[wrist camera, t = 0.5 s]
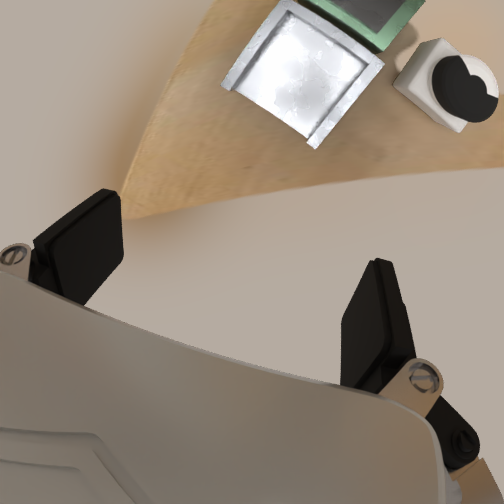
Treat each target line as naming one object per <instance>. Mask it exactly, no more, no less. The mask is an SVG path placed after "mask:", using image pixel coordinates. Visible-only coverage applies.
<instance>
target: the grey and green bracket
mask: <svg viewBox="0 0 504 504" xmlns="http://www.w3.org/2000/svg"><path fill="white" fill-rule="evenodd" d="M297 1H298V3H296V2H294V1H292V0H280V1H279V3H278V4H277V5H276V7H275V8H274V9H273V10H272V12H271V13H270V14H269V16H268V17H267V18H266V20H265V21H264V22H263V24H262V25H261V26H260V28H259V29H258V30H257V32H256V33H255V35H254V36H253V37H252V39H251V40H250V42H249V43H248V44H247V46H246V47H245V49H244V50H243V52H242V53H241V55H240V56H239V57H238V59H237V60H236V62H235V63H234V65H233V66H232V68H231V69H230V71H229V72H228V74H227V76H226V77H225V79H224V80H223V82H222V83H221V85H220V86H222V87H223V88H225V89H227V90H228V91H232V90H236V91H238V92H240V93H241V94H243V95H244V96H246V97H247V98H249V99H251V100H252V101H254V102H255V103H257V104H258V105H260V106H261V107H263V108H265V109H266V110H268V111H269V112H271V113H272V114H274V115H275V116H276V117H278V118H279V119H281V120H282V121H284V122H285V123H287V124H288V125H290V126H291V127H292V128H294V129H295V130H297V131H298V132H299V133H301V134H302V135H304V136H305V137H306V138H307V143H308V144H309V145H310V146H312V147H313V148H314V149H316V148H317V147H318V146H319V145H320V143H321V142H322V141H323V140H324V138H325V137H326V136H327V135H328V133H329V132H330V131H331V130H332V128H333V127H334V126H335V125H336V123H337V122H338V121H339V120H340V119H341V117H342V116H343V115H344V114H345V112H346V111H347V110H348V109H349V107H350V106H351V105H352V104H353V102H354V101H355V100H356V99H357V98H358V96H359V95H360V94H361V93H362V91H363V90H364V89H365V88H366V87H367V85H368V84H369V83H370V82H371V80H372V79H373V78H374V77H375V76H376V74H377V73H378V72H379V71H380V69H381V68H382V67H383V66H384V65H385V63H384V62H382V61H381V60H380V59H379V58H377V57H376V56H375V54H377V53H380V52H383V51H384V50H385V49H386V48H387V46H388V45H389V44H390V43H391V41H392V40H393V39H394V38H395V37H396V35H397V34H398V33H399V32H400V31H401V30H402V28H403V27H404V26H405V25H406V24H407V22H408V21H409V20H410V19H411V18H412V16H413V15H414V14H415V13H416V12H417V11H418V9H419V8H420V7H421V6H422V5H423V4H424V2H425V0H297Z"/></svg>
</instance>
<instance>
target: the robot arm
mask: <svg viewBox="0 0 504 504" xmlns="http://www.w3.org/2000/svg"><path fill="white" fill-rule="evenodd" d="M121 221H122V220H121V200H120V197H119V196H118V194H117V192H116V191H112V190H108V189H101V190H99V191H98V192H96V193H95V194H93V195H92V196H90V197H89V198H88V199H86V200H85V201H84V202H82V203H81V204H79V205H78V206H77V207H75V208H74V209H72V210H71V211H70V212H68V213H67V214H66V215H64V216H63V217H62V218H60V219H59V220H58V221H56V222H55V223H54V224H53V225H51V226H50V227H49V228H47V229H46V230H45V231H44V232H43V233H41V234H40V235H39V236H37V237H36V238H35V239H34V240H33V243H34V247H35V248H34V249H33V250H32V251H31V248H30V247H29V245H27V244H23V243H16V244H13V245H10V246H8V247H6V248H4V249H3V250H2V251H1V252H0V504H504V500H503V497H502V494H501V492H500V490H499V488H498V486H497V484H496V482H495V480H494V478H493V476H492V474H491V472H490V470H489V468H488V466H487V464H486V462H485V461H484V459H483V458H481V459H480V460H479V458H478V453H479V450H480V442H479V438H478V435H477V433H476V432H475V430H474V429H473V428H472V427H471V426H470V425H469V424H468V423H467V422H466V421H465V420H464V419H463V418H462V417H461V415H460V414H459V413H458V412H457V411H456V410H455V409H454V408H453V407H451V405H450V404H449V403H448V402H447V401H446V400H445V399H444V398H443V397H442V396H441V395H440V394H441V392H442V390H443V378H442V375H441V373H440V372H439V370H438V369H437V368H436V367H435V366H434V365H433V364H432V363H430V362H429V361H427V360H424V359H420V358H416V352H415V347H414V342H413V337H412V333H411V328H410V324H409V319H408V315H407V310H406V306H405V304H404V303H403V301H402V297H401V293H400V289H399V285H398V281H397V278H396V274H395V270H394V267H393V263H392V262H391V261H387V260H384V259H380V258H376V259H375V260H374V261H371V260H370V261H369V263H368V265H367V267H366V269H365V271H364V274H363V276H362V278H361V280H360V282H359V284H358V286H357V288H356V290H355V292H354V295H353V296H352V299H351V301H350V303H349V305H348V307H347V309H346V311H345V313H344V315H343V317H342V321H341V378H340V385H337V384H332V383H327V382H323V381H318V380H313V379H310V378H306V377H301V376H297V375H293V374H289V373H285V372H280V371H277V370H273V369H268V368H265V367H261V366H257V365H253V364H250V363H246V362H243V361H239V360H236V359H232V358H229V357H225V356H222V355H219V354H215V353H212V352H209V351H206V350H202V349H199V348H196V347H193V346H189V345H186V344H184V343H181V342H178V341H174V340H172V339H169V338H166V337H163V336H160V335H157V334H154V333H152V332H149V331H146V330H143V329H141V328H138V327H135V326H133V325H130V324H127V323H125V322H122V321H120V320H117V319H114V318H112V317H109V316H107V315H104V314H102V313H100V312H97V311H94V310H92V309H90V308H87V307H85V306H84V305H85V304H86V303H87V301H88V300H89V299H90V298H91V297H92V295H93V294H94V293H95V292H96V291H97V289H98V288H99V287H100V286H101V285H102V283H103V282H104V281H105V280H106V279H107V277H108V276H109V275H110V274H111V273H112V272H113V271H114V270H115V269H116V267H117V266H118V265H119V264H120V263H121V261H122V260H123V256H124V250H123V237H122V222H121Z"/></svg>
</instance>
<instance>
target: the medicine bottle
mask: <svg viewBox="0 0 504 504" xmlns="http://www.w3.org/2000/svg"><path fill="white" fill-rule="evenodd" d="M393 87H394V88H396V89H397V90H398V91H399V92H401V93H402V94H403V95H405V96H406V97H407V98H408V99H410V100H411V101H412V102H413V103H414V104H416V105H417V106H418V107H419V108H420V109H422V110H423V111H424V112H425V113H426V114H427V115H429V116H430V117H431V118H432V119H433V120H434V121H435V122H437V123H439V124H441V125H443V126H445V127H447V128H449V129H451V130H453V131H455V132H457V133H460V132H461V131H462V130H463V128H464V127H465V125H466V124H467V122H475V123H477V122H482V121H484V120H486V119H488V118H489V117H490V116H491V115H492V114H493V112H494V111H495V109H496V107H497V103H498V97H499V92H498V85H497V82H496V79H495V77H494V75H493V73H492V71H491V70H490V69H489V67H488V66H487V65H486V64H485V63H484V62H483V61H481V60H480V59H478V58H476V57H474V56H471V55H462V54H461V53H460V52H458V50H456V49H455V48H454V47H453V46H452V45H451V44H450V43H449V42H447V41H446V40H445V39H444V38H438V39H434V40H430V41H427V42H423V43H421V44H420V45H419V46H418V48H417V49H416V51H415V52H414V54H413V55H412V56H411V58H410V59H409V61H408V62H407V64H406V65H405V67H404V68H403V70H402V71H401V72H400V74H399V75H398V77H397V78H396V80H395V81H394V83H393Z"/></svg>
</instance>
